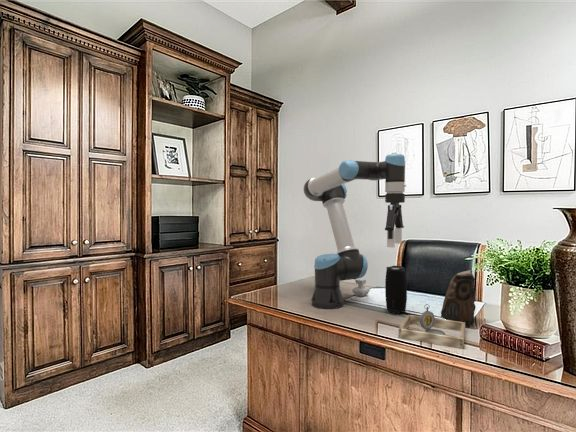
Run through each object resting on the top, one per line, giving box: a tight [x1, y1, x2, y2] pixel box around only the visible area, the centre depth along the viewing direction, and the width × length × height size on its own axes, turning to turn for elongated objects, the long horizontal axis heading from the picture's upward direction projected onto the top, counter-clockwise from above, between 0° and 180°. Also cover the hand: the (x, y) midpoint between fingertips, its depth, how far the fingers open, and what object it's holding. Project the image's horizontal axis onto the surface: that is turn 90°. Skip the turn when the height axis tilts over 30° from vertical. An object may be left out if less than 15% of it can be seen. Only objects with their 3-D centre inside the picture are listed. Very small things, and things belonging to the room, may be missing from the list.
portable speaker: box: [384, 265, 408, 315], centre depth 146 cm, size 9×9×20 cm
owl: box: [440, 269, 476, 327], centre depth 132 cm, size 13×13×20 cm
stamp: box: [351, 278, 371, 297], centre depth 174 cm, size 9×7×8 cm
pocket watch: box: [419, 303, 446, 336], centre depth 120 cm, size 8×8×10 cm
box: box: [398, 314, 466, 350], centre depth 120 cm, size 20×18×3 cm
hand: (394, 245), depth 137 cm, fingers open, 13 cm apart
